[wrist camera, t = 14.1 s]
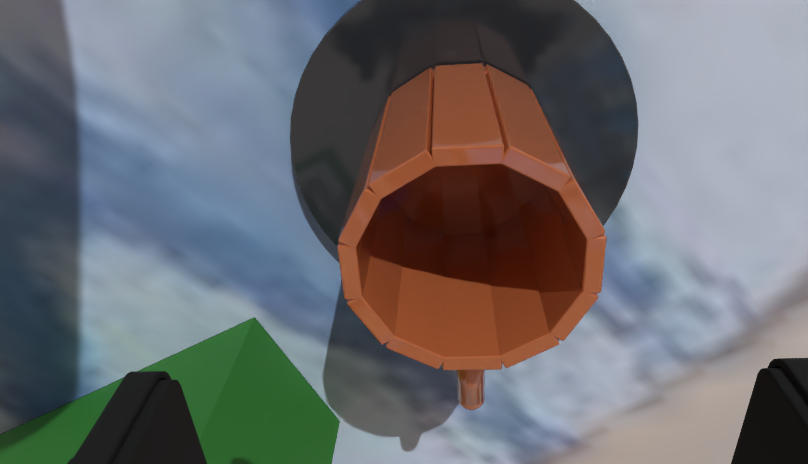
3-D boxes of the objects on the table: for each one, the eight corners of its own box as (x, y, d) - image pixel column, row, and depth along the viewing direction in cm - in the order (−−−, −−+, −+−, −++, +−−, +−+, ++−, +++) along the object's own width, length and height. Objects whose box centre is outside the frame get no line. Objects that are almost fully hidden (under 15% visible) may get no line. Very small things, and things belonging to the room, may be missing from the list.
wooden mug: (361, 69, 21) (323, 152, 14) (558, 58, 21) (617, 139, 14) (385, 297, 26) (364, 444, 19) (545, 293, 25) (585, 442, 18)
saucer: (380, -112, 19) (377, -112, 19) (707, 72, 22) (716, 78, 21) (249, 208, 25) (243, 217, 25) (516, 327, 28) (518, 338, 27)
